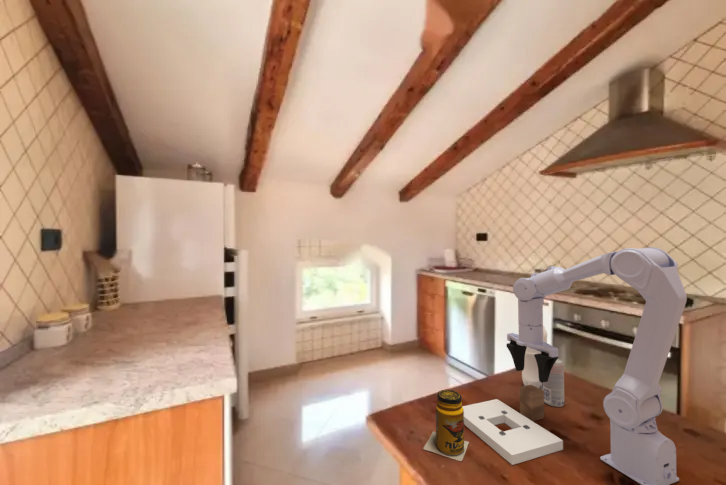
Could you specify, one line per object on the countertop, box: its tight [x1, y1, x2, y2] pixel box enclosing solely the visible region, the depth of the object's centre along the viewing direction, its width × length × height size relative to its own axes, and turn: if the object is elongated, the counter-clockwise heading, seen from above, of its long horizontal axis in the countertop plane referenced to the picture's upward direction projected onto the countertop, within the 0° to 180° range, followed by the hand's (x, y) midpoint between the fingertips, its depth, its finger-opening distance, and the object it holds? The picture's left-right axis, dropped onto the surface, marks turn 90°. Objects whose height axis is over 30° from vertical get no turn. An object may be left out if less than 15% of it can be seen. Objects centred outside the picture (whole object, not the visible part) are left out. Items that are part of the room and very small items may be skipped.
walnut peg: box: [519, 385, 545, 422], centre depth 85 cm, size 4×4×7 cm
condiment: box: [422, 389, 470, 462], centre depth 73 cm, size 7×8×12 cm
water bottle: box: [521, 325, 548, 390], centre depth 101 cm, size 7×7×25 cm
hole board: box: [462, 398, 564, 466], centre depth 78 cm, size 20×14×2 cm
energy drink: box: [542, 358, 565, 408], centre depth 91 cm, size 5×5×12 cm
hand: (531, 375), depth 85 cm, fingers open, 7 cm apart
